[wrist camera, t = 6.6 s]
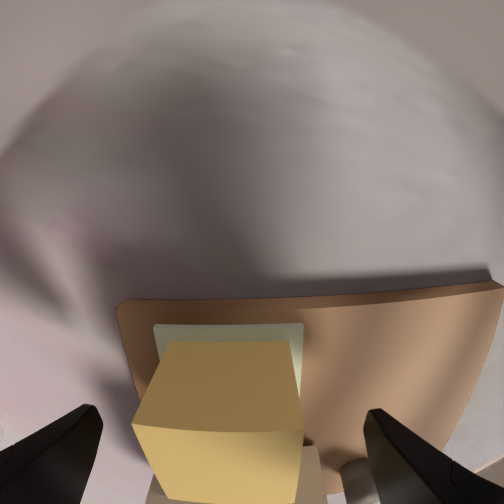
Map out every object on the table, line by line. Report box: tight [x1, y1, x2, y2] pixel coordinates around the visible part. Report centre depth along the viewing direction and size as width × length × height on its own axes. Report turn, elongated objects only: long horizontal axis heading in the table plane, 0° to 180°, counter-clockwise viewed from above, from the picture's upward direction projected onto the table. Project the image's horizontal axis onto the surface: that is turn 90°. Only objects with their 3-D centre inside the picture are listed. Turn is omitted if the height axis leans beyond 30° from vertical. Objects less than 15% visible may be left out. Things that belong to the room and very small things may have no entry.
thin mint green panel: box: [153, 323, 304, 397], centre depth 10 cm, size 5×5×1 cm
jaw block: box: [131, 340, 305, 504], centre depth 8 cm, size 4×4×4 cm
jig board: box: [115, 280, 504, 504], centre depth 10 cm, size 16×13×3 cm
